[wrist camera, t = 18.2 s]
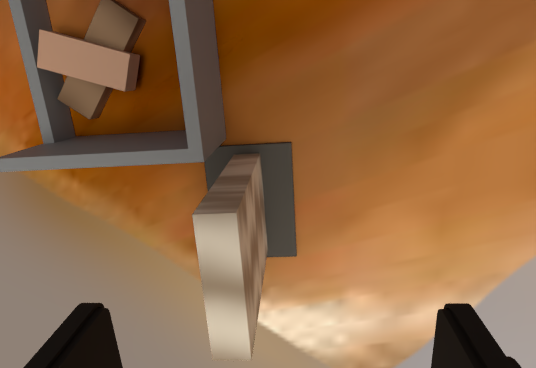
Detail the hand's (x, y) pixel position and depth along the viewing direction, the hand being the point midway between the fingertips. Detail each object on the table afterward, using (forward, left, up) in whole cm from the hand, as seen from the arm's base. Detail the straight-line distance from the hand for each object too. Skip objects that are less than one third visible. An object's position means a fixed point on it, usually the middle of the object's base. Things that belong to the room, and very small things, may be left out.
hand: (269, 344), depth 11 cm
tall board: (+7, -5, -32) cm, 33 cm away
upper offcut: (-9, -20, -31) cm, 38 cm away
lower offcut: (-10, -20, -33) cm, 40 cm away
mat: (+7, -5, -33) cm, 34 cm away
